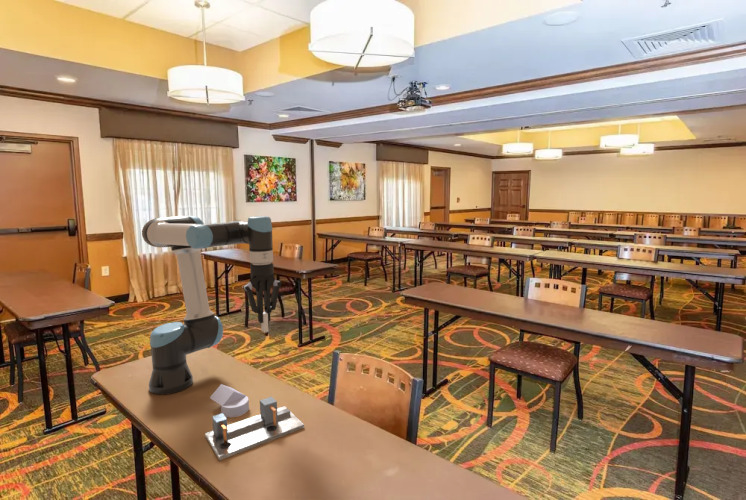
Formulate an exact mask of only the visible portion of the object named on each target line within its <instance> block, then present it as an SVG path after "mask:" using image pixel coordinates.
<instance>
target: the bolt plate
mask: <svg viewBox="0 0 746 500" xmlns="http://www.w3.org/2000/svg"><path fill="white" fill-rule="evenodd" d="M211 418H212V430H210V431H208V432H207V431H206V432H205V433H204V436H205V439H206V440H207V442H208V444H209V446H210V447H211V448H212V451H213V453H214V454H215V456H216V457H217V459H218V460H219V461H222V460H225V459H227V458H230V457H232V456H235V455H238V454H240V453H243V452H245V451H248V450H251V449H253V448H255V447H258V446H260V445H263V444H264V445H265V444H266V443H268V442H272V441H274V440H276V439H278V438H282V437H284V436H287V435H290V434H292V433H294V432H297V431H300V430H303V429H305V424H304V423H303V422H302V421H301V420H300V419H299V418H298V417H297V416H296V415H295V414H294V413H293V412H292V411H291V410H290V409H289V408H288V407H286V406H285V405H284V406H281V407H277V420H278V421H276V426H274V423H273V422H272V423H269V424H267V425H265V420H264V418H263V417H261V415H260V414H258V415H254V416H251V417H249V418H245V419H243V420H240V421H237V422H234V423H231V424H228V419H227V417H225V416H224V414H223V413H222V414H221V413H218V414H216V415H213V416H212V417H211Z"/></svg>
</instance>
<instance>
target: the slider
mask: <svg viewBox="0 0 746 500" xmlns="http://www.w3.org/2000/svg"><path fill="white" fill-rule="evenodd" d="M277 409H278V401H277V400H276V399H275V398H274V397H273V396H270V397H269V396H268V397H266V398H263V399H259V410H260V414H259V415H261V417H263V418H264V420H265V425H267V424H269V423H272V422H273V423H274V426H276V421H278V420H277Z"/></svg>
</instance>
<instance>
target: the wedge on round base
mask: <svg viewBox="0 0 746 500" xmlns="http://www.w3.org/2000/svg"><path fill="white" fill-rule="evenodd" d="M209 399H210V400H212V401H214V402H215V403H217V404H218V405H220V414H222V413H223V414H224V416H225V417H226V418H236V417H240V416H243V415H244V414H247V412H248V411H249V410H250V405H249V404H250V403H249V397H248V396H247V395H246V394H244V393H243V392H241V391H238V390H236V389H235V388H234V387H230V386H228V385H226V384H225V385H224V384H222V383H221V384H219V386H218V387H217V388H216V390H215V391H214V392H213V393H212V394H211V395H210V397H209Z"/></svg>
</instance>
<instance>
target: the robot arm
mask: <svg viewBox="0 0 746 500" xmlns="http://www.w3.org/2000/svg"><path fill="white" fill-rule="evenodd" d="M141 236H142V240H144V242H145V243H146V244H147V245H148V246H151V247H155V248H171V252H172V253H173V254H174V255H176V258H177V259H176V260H177V264H178V270H179V276H180V283H181V288H182V293H183V301H184V306H185V311H186V314H185V316H184V318H183V323H182V322H181V321H173V322H168V323H164V324H161V325H159V326H157V327H155V328H154V329H153V330H152V331H151V333H150V337H149V338H150V339H149V346H150V353H151V354H150V355H151V364H152V371H151V375H150V378H149V381H148V382H149V383H148V390H149V392H150V393H151V394H154V395H169V394H175V393H178V392H181V391H184V390H185V389H187V388H189V387H190V386H192V384H193V383H194V381H193V380H194V379H193V378H194V376H193V373H192V372H191V369H190V367H189V365H188V362H187V355H190V354H192V353H196V352H199V351H202V350H206V349H210V348H211V347H214V346H216V345H219V343H220V342H221V341H222V338H223V336H224V326H223V322H222V321H221V319H220V318H219V316H216V314H215V312H214V311H212V310H211V308H210V306H209V305H210V304H209V299H208V294H207V293H208V292H207V288H206V282H205V275H204V269H203V263H202V257H201V250H203V249H207V248H213V247H215V248H216V247H221V246H224V247H225V246H232V245H239V244H242V245H244V244H245V245H249V246H248V250H249V263H250V265H249V269H250V271H249V272H250V279H249V282H248V283H247V284H246V285H245V284H244V285H243V286H242V289H243V290H244V291H245V292H246V295H247V298H248V302H249V305H250V308H251V311H252V312H253V313H254V314H257V320H258V323H259V324H260V330H261V332H263V333H265V334H266V333H269V322H270V321H271V314H272V311H274V310H276V308H277V307H276V306H277V302H278V297H279V292H280V288H281V286H282V283H283V282H282V281H280V280H277V279H276V277H275V273H274V272H275V269H274V266H275V265H274V263H273V262H274V252H273V250H274V248H273V224H272V219H271V217H270V216H266V215H264V216H262V215H261V216H259V215H255V216H249V217H248V218H247V221H242V220H231V221H228V222H218V223H217V222H215V223H204V222H203V219H201V218H200V217H198V216H196V215H178V216H165V217H164V216H163V217H162V216H160V217H156V218H152V219H151V220H149V221H147V222H145V224H144V225H143V227H142V230H141ZM253 288H254V290H255V293H256V300H255V297H254V292H253V291H252V290H253ZM271 288H272V291H271Z"/></svg>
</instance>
